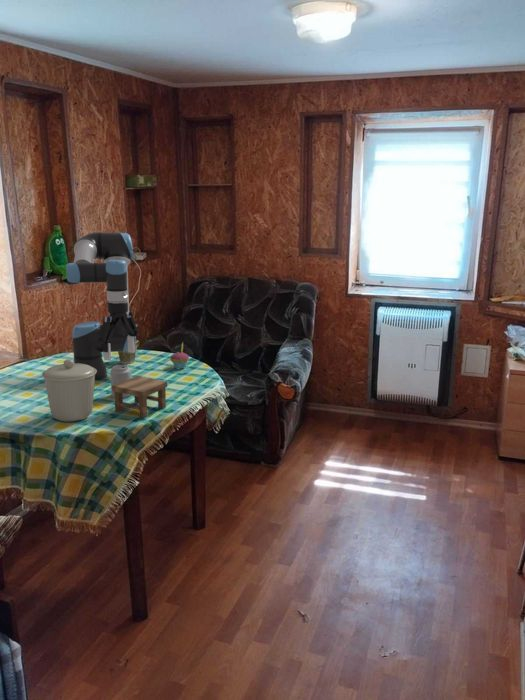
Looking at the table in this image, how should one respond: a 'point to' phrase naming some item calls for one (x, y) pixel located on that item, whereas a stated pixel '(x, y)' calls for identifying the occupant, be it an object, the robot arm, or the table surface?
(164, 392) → the stool
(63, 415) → the canister
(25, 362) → the table surface
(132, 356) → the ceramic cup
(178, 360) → the cupcake
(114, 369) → the can
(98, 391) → the table surface
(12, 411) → the table surface
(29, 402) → the table surface
